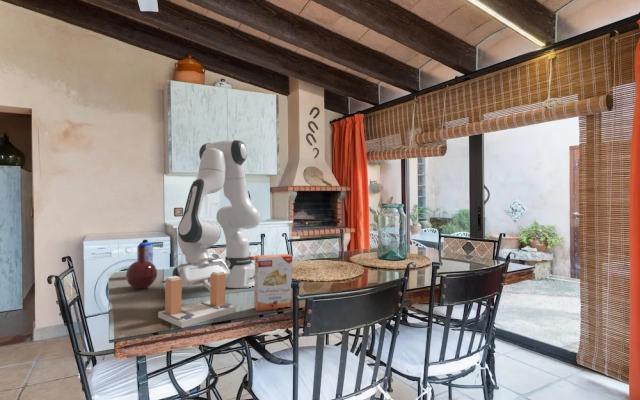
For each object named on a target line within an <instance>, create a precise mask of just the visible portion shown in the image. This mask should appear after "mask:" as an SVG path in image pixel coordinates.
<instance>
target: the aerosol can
mask: <svg viewBox="0 0 640 400" xmlns="http://www.w3.org/2000/svg"><path fill="white" fill-rule="evenodd" d="M138 246H145V260H146V261H149V262H151V263H152V264H154V247H153V246H154V245H153V244H152V243H151V242H149V240H148V239H142V242H140V243H139V244H138V245H137V248H136V250H137V251H136V254H137V255H136V257H137V259H136V261H139V247H138Z"/></svg>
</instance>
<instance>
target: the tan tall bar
mask: <svg viewBox="0 0 640 400" xmlns="http://www.w3.org/2000/svg"><path fill="white" fill-rule="evenodd" d="M209 284H210V291H209V292H210V295H209V297H210V298H209V299H210V305H213V306H216V307H219V306H221V305H225V303H226V287H225V274H224V272H223V271H214V272H212V274H211V275H210V282H209Z"/></svg>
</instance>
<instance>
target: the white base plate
mask: <svg viewBox="0 0 640 400" xmlns="http://www.w3.org/2000/svg"><path fill="white" fill-rule="evenodd" d="M233 313H236V306H234V305H232V303H228V302H225V305H221V306H219V307H216V306H213V305H210V298H208V299H205V300H200V301H196V302H191V303H188V304H185V305H181V313H178V314H174V315H170V314H167V313H165V309H164V310H161V311H158V313H157V315H158V316H157V318H159V319H161V320H163V321H166V322H167V323H170V324H172V325H174V326H177V327H179V328H180V329H181V328H182V329H183V328H186V327H190V326H194V325H196V324H199V323H203V322H204V323H205V322H207V321H210V320H214V319H217V318H221V317H224V316H227V315H230V314H233Z"/></svg>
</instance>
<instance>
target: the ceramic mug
mask: <svg viewBox="0 0 640 400" xmlns="http://www.w3.org/2000/svg"><path fill="white" fill-rule="evenodd" d="M178 266H179V265H178ZM178 266H175V267H174V268H173V270H172V275H171V276H178V277H180V274H179V272H178V270H177V267H178ZM180 279H181V278H180Z"/></svg>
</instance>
